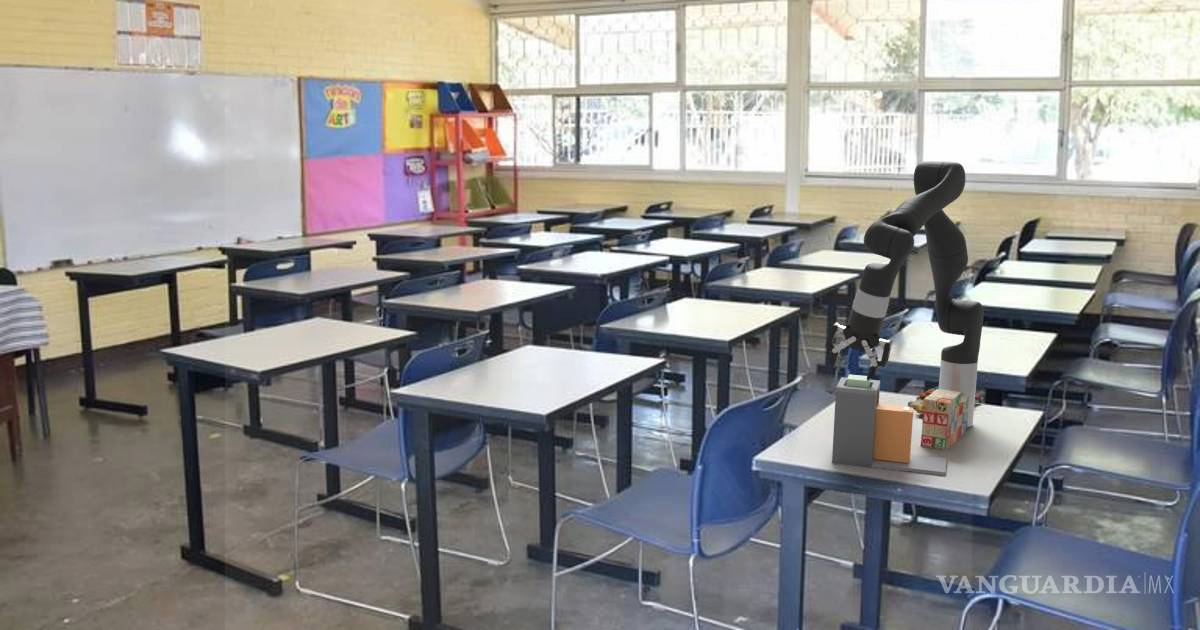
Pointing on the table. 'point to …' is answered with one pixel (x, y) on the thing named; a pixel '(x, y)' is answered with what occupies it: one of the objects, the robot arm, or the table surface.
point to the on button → (858, 381)
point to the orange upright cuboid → (893, 433)
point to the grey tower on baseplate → (868, 432)
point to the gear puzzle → (920, 399)
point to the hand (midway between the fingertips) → (850, 372)
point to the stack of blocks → (944, 418)
